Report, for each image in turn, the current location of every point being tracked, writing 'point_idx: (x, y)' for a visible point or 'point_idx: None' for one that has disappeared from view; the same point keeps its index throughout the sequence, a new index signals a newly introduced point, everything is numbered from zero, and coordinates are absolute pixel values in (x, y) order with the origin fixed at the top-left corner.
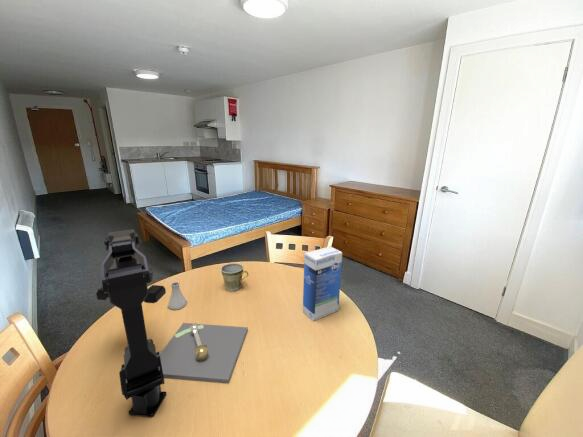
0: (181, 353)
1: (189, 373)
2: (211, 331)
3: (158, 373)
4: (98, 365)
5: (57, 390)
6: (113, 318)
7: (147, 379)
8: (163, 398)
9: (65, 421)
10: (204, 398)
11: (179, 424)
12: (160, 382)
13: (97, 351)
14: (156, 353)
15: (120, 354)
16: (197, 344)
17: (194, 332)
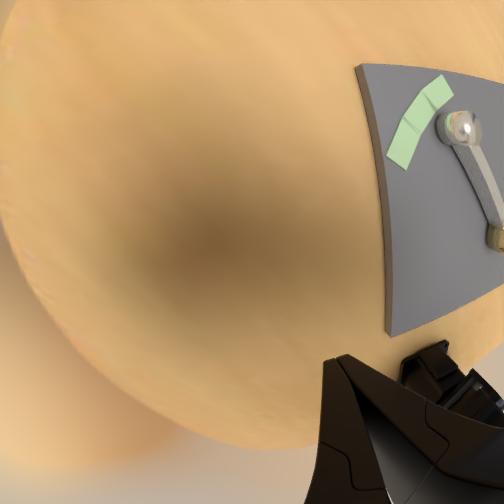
0: (451, 237)
1: (482, 288)
2: (477, 110)
3: (471, 381)
4: (197, 360)
5: (186, 425)
6: (6, 159)
7: (454, 401)
8: (446, 351)
9: (285, 444)
10: (498, 309)
11: (473, 359)
12: (478, 388)
13: (124, 320)
14: (501, 410)
15: (222, 305)
16: (500, 217)
17: (476, 157)
